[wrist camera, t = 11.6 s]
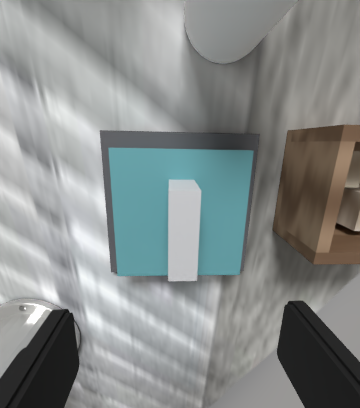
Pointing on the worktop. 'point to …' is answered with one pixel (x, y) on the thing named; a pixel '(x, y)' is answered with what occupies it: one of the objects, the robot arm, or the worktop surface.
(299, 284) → the worktop surface
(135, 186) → the lid
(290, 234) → the crate
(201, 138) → the mat
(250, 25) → the pill bottle
